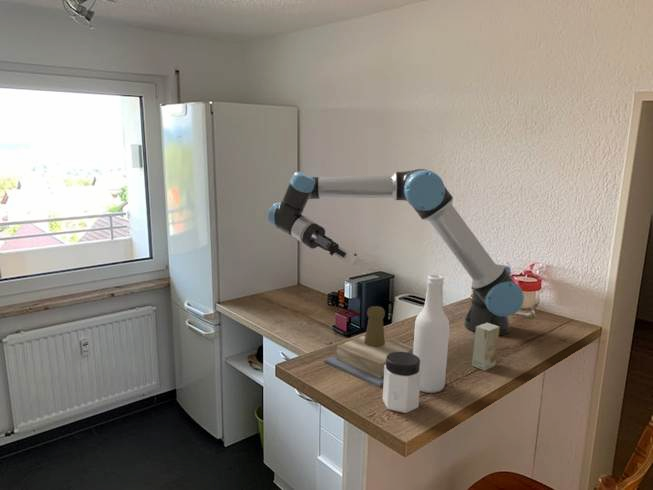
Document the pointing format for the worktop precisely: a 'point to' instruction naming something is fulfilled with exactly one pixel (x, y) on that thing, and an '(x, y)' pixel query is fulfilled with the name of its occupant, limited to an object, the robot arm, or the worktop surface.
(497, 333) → the skincare box
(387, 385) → the jar
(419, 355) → the alcohol
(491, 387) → the worktop surface
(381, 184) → the robot arm
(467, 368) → the worktop surface
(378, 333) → the cork
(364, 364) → the plinth
